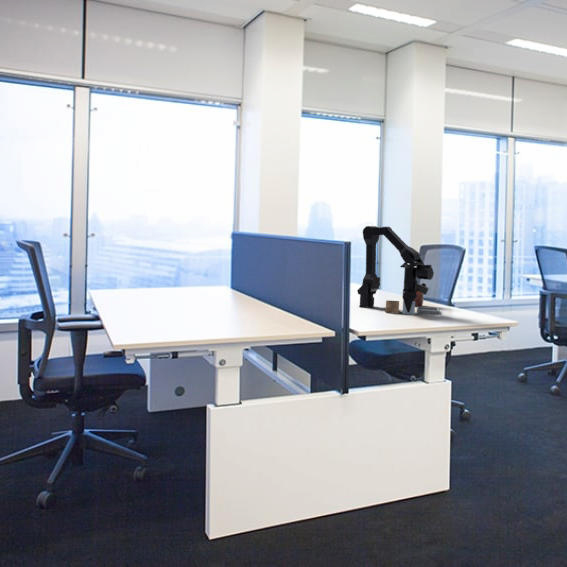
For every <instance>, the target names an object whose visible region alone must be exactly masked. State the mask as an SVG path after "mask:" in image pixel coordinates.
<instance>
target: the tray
mask: <svg viewBox="0 0 567 567" xmlns="http://www.w3.org/2000/svg"><path fill="white" fill-rule="evenodd" d="M416 313H417V314H428V315H429V314H431V315H440V308H439V307H430V306H429V307H428V306H426V307H425V306H421V307H416Z"/></svg>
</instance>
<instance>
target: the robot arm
mask: <svg viewBox="0 0 567 567" xmlns="http://www.w3.org/2000/svg"><path fill="white" fill-rule="evenodd" d="M362 229H363V230H362V236H363V237H362V238H363V241H364V243H365V274H364V277H363V279H362V283H361V286H360V287H359V288H358V289H357V290H356V292H357V295H359V306H358V307H360V308H373V307H374V306H375V296H374V295H376V294H377V291H378V290H379V288H380V286H381V283H380V282H381V277H379V276H377V244H378V241H379V240H380V236H384V237H385V238H386V239H387V240H388V241H389V242H390V243H391V245H393V247H394V248H395V249H396V250H397V251H398V252H399V254H400V257H401V259H402V260H403V261H404V262H403V263H402V264H401V265H400V268H403V269H404V273H403V274H404V275H403V276H404V277H403V289H402V299H403V300H404V303H405V306H406V309H407V312H410V309H411V305H412V302H413V301H414V300H415V299H416V296H417V293H416V292H417V291H419V292H421V293H423V295H427V293H428V291H429V289H430V288H429V287H427V283H425V282H422V283H421V284H420V283H418V279H419V280H428V281H429V280H430V281H431V280H432V279H433V278H434V273H435V272H434V269H433V268H432V266H433V265H432V264H425V263H424V262H423V260H422V259H421V254H420V253H419V251H418V250H416V249H415V248H413V247H411V246H409V245H408V244H406V242H405V241H404V240H402V238H401V237H400V236H399V235H398V234H397V233H396V232H395V231H394V230H393V229H392V228H391V226H381V227H380V226H379V227H378V226H375V225H366V226H365V227H364V228H362ZM403 300H402V301H403Z"/></svg>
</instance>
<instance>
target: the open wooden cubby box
mask: <svg viewBox="0 0 567 567" xmlns="http://www.w3.org/2000/svg"><path fill="white" fill-rule="evenodd" d="M399 309H400V301H399V300H387V299H386V301H385V314H386V313H387V314H400V310H399Z"/></svg>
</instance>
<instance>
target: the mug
mask: <svg viewBox="0 0 567 567" xmlns="http://www.w3.org/2000/svg"><path fill="white" fill-rule="evenodd" d="M416 293H417V296H416V299H415V300H414V301H415V308H417V307H423V304H424V294H423V293H421V292H419V291H417V292H416Z"/></svg>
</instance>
